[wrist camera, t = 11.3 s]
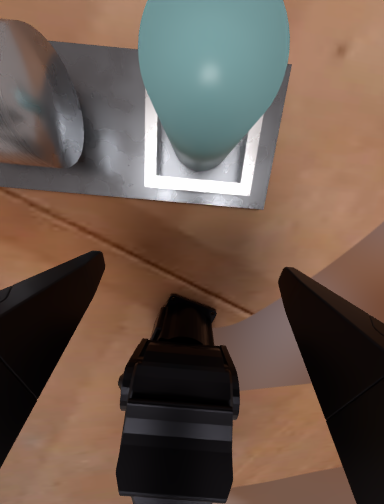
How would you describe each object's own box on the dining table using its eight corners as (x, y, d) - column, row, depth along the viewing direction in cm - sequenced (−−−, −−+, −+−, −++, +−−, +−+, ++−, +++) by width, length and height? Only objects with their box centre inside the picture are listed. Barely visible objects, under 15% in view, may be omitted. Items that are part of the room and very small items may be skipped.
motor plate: (283, 75, 17) (429, -119, 6) (258, 208, 21) (325, 224, 10) (-25, 45, 17) (-404, -211, 6) (4, 186, 20) (-204, 178, 10)
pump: (227, 173, 18) (271, 146, 8) (170, 168, 18) (138, 134, 8) (240, 72, 16) (329, -161, 5) (174, 66, 16) (137, -182, 5)
